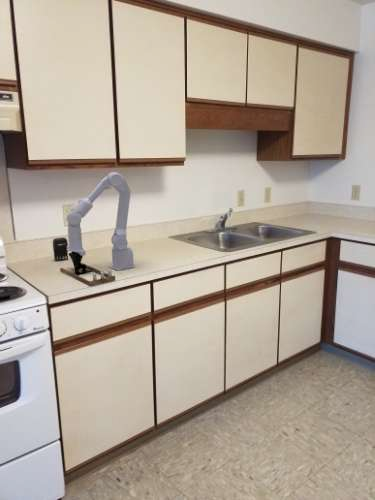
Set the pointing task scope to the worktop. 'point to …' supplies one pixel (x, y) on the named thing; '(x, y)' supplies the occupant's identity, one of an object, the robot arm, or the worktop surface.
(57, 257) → the battery charger
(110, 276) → the loading bay
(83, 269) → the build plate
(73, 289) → the worktop surface
